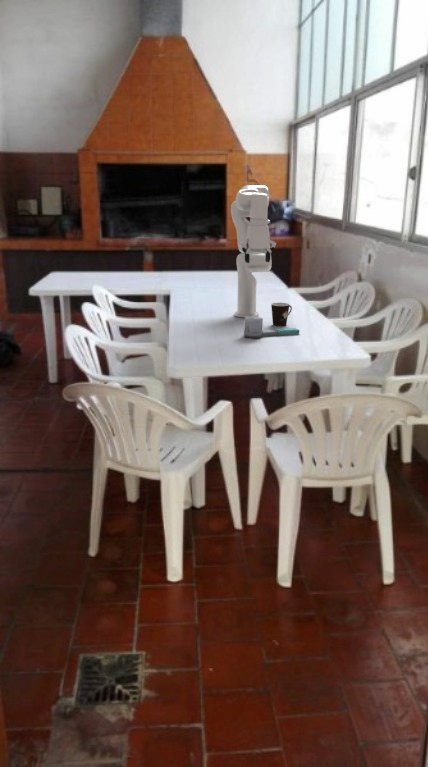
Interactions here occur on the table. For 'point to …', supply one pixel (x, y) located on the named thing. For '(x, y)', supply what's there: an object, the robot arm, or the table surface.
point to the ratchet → (272, 333)
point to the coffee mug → (280, 313)
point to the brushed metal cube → (253, 324)
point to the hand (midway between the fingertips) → (257, 262)
